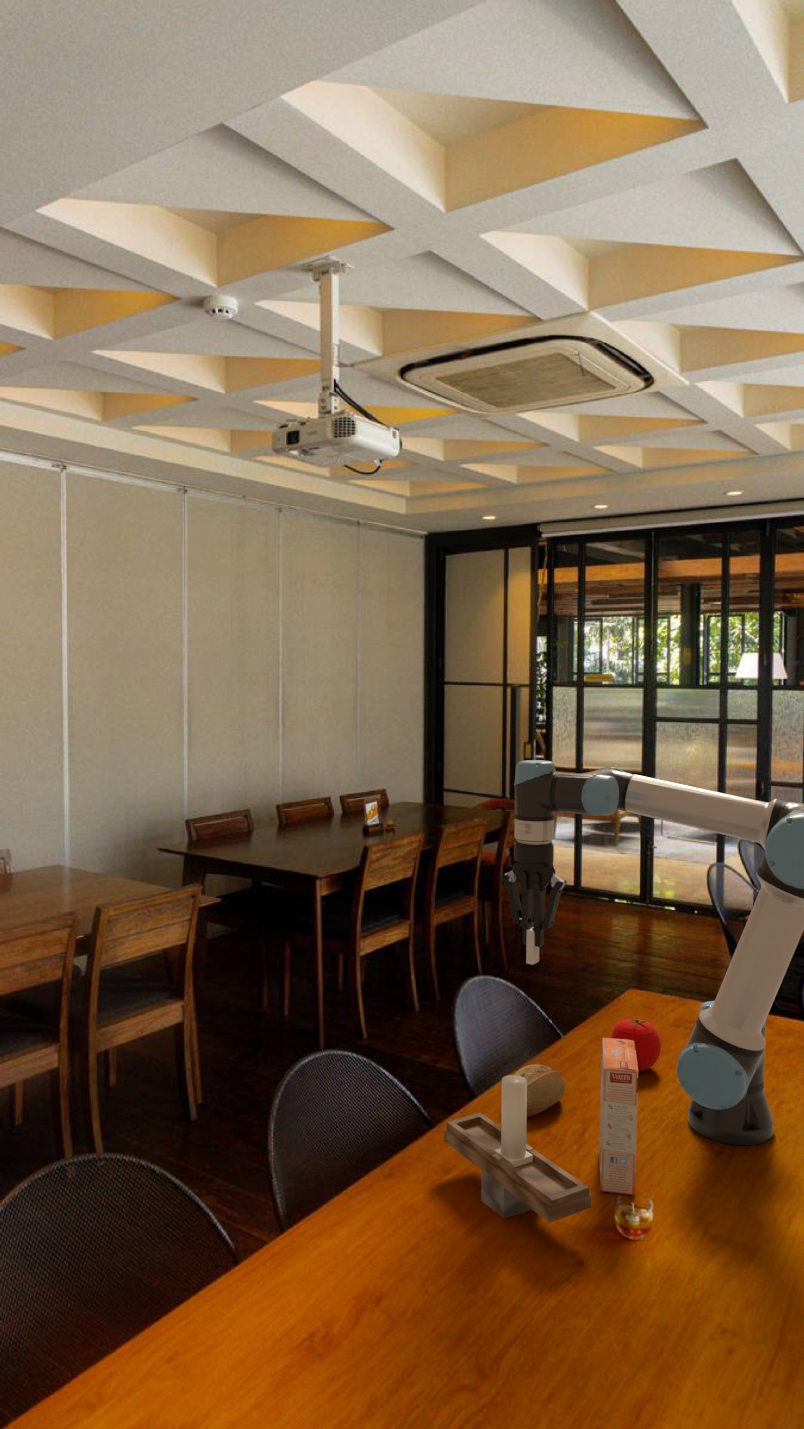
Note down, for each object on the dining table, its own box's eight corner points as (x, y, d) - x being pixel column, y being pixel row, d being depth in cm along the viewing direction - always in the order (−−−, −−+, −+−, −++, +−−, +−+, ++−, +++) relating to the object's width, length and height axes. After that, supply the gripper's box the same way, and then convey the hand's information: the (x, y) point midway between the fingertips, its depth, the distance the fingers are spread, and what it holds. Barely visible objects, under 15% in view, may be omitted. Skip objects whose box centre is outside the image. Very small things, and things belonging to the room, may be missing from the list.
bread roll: (577, 1102, 188) (578, 1063, 187) (535, 1128, 177) (535, 1086, 176) (537, 1088, 194) (537, 1050, 194) (493, 1112, 183) (494, 1072, 183)
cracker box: (637, 1197, 153) (639, 1070, 152) (599, 1193, 154) (601, 1067, 154) (633, 1155, 167) (635, 1038, 166) (598, 1151, 168) (600, 1035, 167)
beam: (590, 1240, 141) (591, 1185, 141) (548, 1256, 137) (549, 1200, 137) (482, 1157, 165) (482, 1111, 165) (443, 1169, 161) (444, 1121, 161)
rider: (532, 1161, 150) (533, 1082, 150) (510, 1168, 148) (511, 1088, 148) (516, 1149, 154) (516, 1072, 154) (494, 1156, 152) (495, 1077, 151)
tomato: (598, 1066, 205) (599, 1017, 205) (630, 1054, 212) (631, 1007, 211) (637, 1083, 197) (638, 1032, 196) (669, 1070, 203) (670, 1021, 203)
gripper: (494, 840, 182) (493, 961, 183) (557, 847, 175) (556, 973, 176) (511, 835, 188) (510, 952, 189) (573, 841, 181) (571, 963, 182)
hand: (532, 962), depth 182 cm, fingers closed
